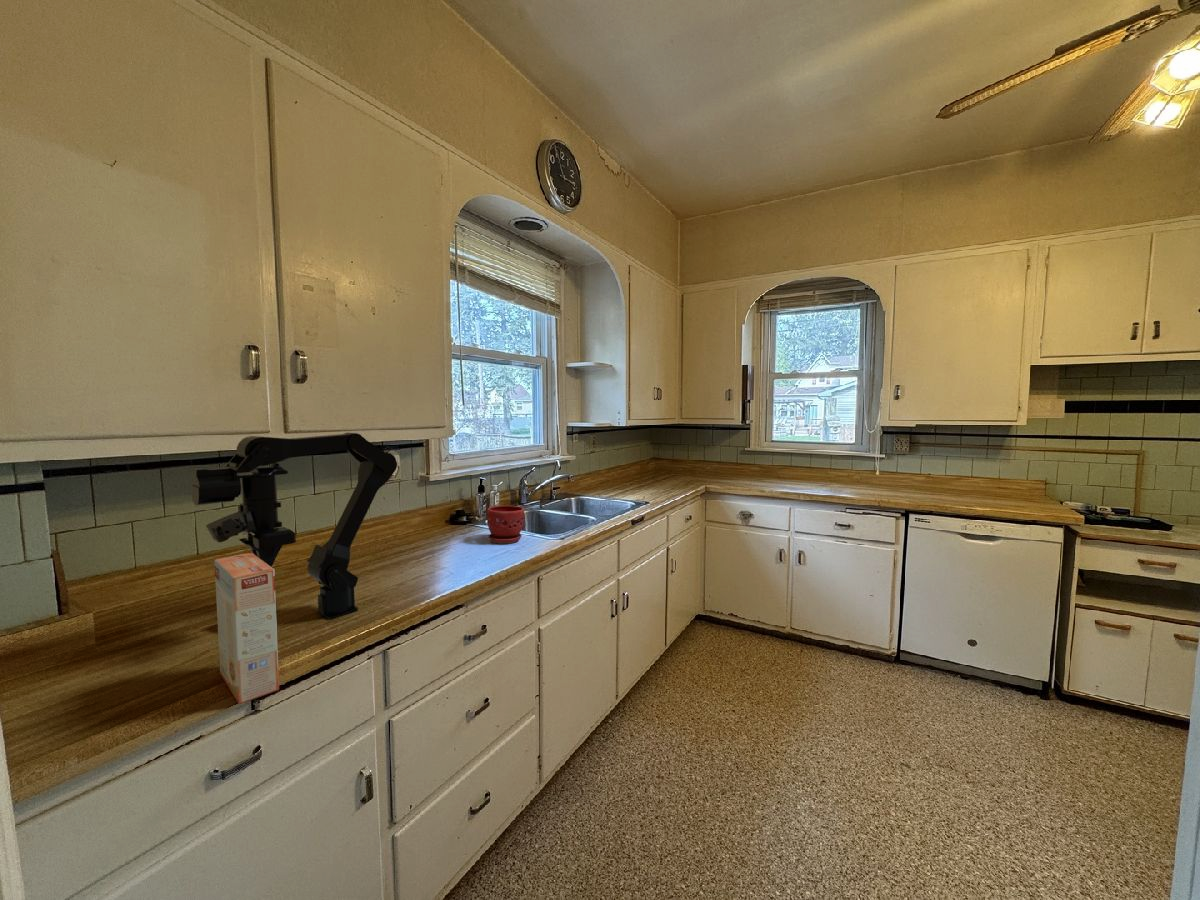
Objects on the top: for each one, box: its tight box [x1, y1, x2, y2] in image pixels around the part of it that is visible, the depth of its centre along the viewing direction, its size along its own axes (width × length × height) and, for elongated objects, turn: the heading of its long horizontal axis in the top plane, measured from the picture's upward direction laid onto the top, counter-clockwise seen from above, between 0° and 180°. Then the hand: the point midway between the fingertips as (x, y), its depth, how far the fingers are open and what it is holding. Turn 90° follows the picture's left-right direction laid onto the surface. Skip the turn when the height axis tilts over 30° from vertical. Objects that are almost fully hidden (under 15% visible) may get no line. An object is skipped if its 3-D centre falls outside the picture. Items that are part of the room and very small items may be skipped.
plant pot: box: [486, 505, 525, 544], centre depth 169 cm, size 13×13×12 cm
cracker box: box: [213, 552, 280, 705], centre depth 80 cm, size 14×6×21 cm, turn 48°
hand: (264, 572), depth 97 cm, fingers closed
